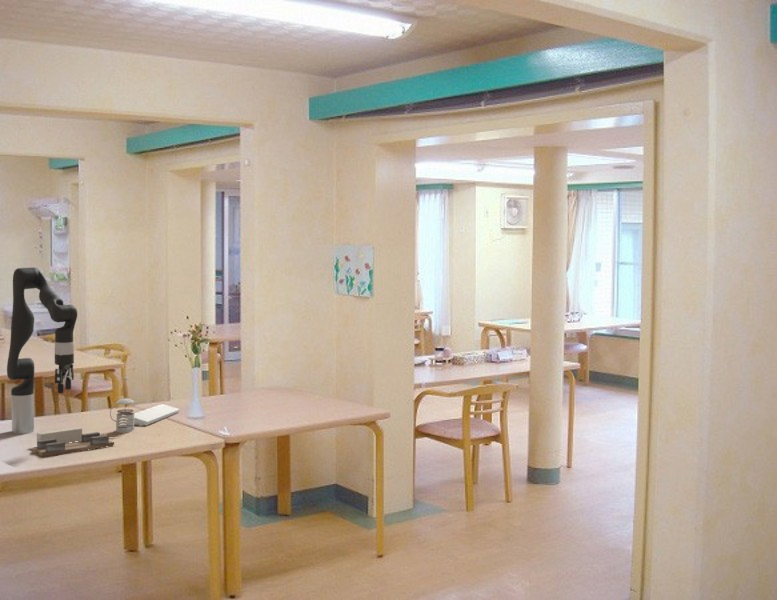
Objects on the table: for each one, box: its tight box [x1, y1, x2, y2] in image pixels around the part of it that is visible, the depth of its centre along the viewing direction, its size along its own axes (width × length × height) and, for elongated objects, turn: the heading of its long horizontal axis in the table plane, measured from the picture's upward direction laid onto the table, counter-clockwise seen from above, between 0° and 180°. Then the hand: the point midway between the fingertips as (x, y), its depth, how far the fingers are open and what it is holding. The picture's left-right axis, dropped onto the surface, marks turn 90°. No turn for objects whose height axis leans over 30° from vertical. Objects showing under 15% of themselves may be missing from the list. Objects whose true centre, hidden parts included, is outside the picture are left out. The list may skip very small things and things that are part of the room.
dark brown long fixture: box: [31, 431, 115, 458], centre depth 369 cm, size 12×30×4 cm, turn 135°
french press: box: [109, 376, 136, 434], centre depth 404 cm, size 10×12×25 cm
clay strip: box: [36, 426, 83, 443], centre depth 378 cm, size 4×18×6 cm, turn 134°
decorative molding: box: [127, 403, 180, 427], centre depth 432 cm, size 34×5×10 cm
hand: (64, 391), depth 372 cm, fingers open, 8 cm apart
